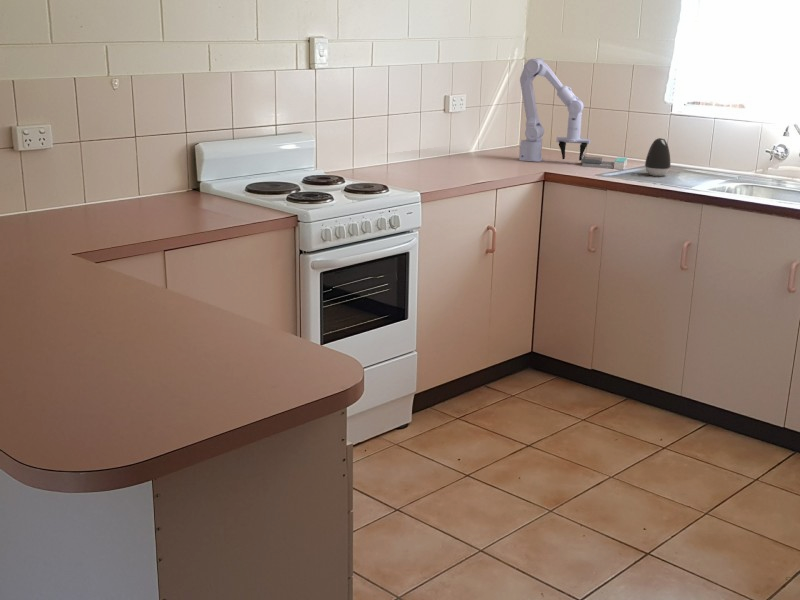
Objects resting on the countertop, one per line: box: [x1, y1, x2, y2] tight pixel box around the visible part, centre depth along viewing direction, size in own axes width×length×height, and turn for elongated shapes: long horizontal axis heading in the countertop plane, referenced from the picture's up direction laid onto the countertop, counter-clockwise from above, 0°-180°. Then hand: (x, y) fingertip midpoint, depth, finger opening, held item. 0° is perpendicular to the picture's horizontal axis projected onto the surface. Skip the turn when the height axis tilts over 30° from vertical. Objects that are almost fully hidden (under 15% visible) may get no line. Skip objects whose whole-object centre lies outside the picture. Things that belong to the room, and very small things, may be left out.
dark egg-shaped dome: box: [644, 137, 672, 177], centre depth 383 cm, size 10×10×15 cm
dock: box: [581, 157, 628, 170], centre depth 404 cm, size 18×12×3 cm
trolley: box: [580, 152, 603, 165], centre depth 406 cm, size 8×7×4 cm
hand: (571, 159), depth 409 cm, fingers open, 7 cm apart
